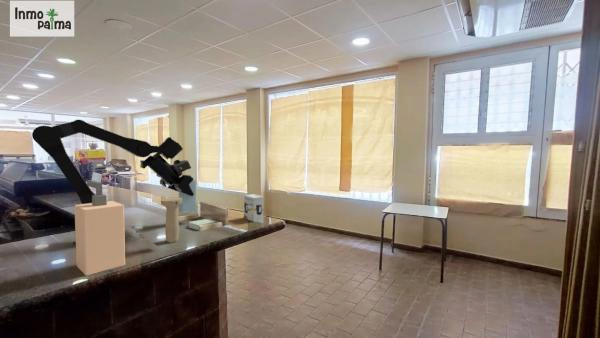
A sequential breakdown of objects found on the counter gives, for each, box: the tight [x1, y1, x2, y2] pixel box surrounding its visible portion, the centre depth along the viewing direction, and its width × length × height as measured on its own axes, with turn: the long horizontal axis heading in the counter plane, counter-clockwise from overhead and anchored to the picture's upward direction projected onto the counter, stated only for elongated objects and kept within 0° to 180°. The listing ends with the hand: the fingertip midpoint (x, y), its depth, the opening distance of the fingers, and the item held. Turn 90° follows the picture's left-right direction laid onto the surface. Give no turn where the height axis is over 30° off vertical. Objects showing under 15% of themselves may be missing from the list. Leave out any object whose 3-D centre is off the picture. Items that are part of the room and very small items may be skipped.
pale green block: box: [188, 218, 217, 231], centre depth 107 cm, size 8×6×2 cm
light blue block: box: [178, 179, 197, 214], centre depth 111 cm, size 5×4×12 cm
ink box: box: [243, 193, 264, 224], centre depth 120 cm, size 9×5×12 cm, turn 42°
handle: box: [160, 197, 183, 243], centre depth 89 cm, size 5×6×15 cm
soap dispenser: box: [74, 179, 126, 276], centre depth 74 cm, size 13×9×22 cm
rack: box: [178, 201, 229, 232], centre depth 112 cm, size 12×20×8 cm, turn 47°
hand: (190, 194), depth 112 cm, fingers closed on light blue block, 4 cm apart
